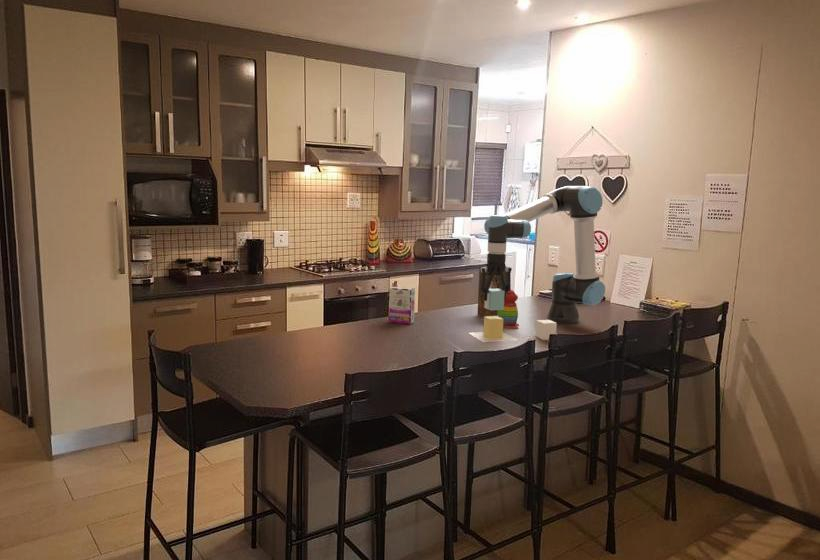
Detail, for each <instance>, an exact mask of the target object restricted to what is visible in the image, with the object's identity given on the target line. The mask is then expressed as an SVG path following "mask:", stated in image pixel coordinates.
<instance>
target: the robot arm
mask: <svg viewBox="0 0 820 560" xmlns="http://www.w3.org/2000/svg"><path fill="white" fill-rule="evenodd" d="M603 201H604V200H603V196H602V193H601V191H600V190H599V189H597V188H596V187H594V186H589V185H566V186H563V187H562V186H561V187H560V188H557V189H554V190H552V191H550V192H547V193H545V194H544V195H542V197H541V198H539V199H537V200H534V201H533V202H530V203H528V204H526V205H523V206H521V207H518V208H516V209H514V210H512V211H509V212H507V213H505V214H502V215H501V214H492V215H490V216H489V218H487V219H486V220H485V221H484V227H483V228H484V231H485V233H486V234H487V252H488V253H486V255H487V257H486V258H487V259H486V262H487V263H486V264H485V265H486V267H483V268H482V267H481V268H480V272H481V275H480V284H479V283H478V288H479V291H481V292H483V300H484V301H485V307H484V308H486V309H489V294H490V293H488V290H489V287H490V284H491V281H492V278H493V277H494V276H495V275H497V276H498V278H499V282H500V286H501V290H504V291H505V294H504V300H506V293H507V292H508V291H510V290H512V289H511V288H512V287H511V285H512V283H511V281H512V280H511V279H512V278H511V277H512V275H511V273H512V271H513V270H512V269H513V268H512V267H509V266H506V258H507V256H506V252H507V239H525V238H528V237H529V236H530V234H531V232H532V225H531V223H530V222H532V221H534V220H537V219H539V218H542V217H544V216H545V215H548V214H550V215H554V214H556V213H558V212H559V213H561V212H569V217H570V218H569V219H571V220H573V226H574V227H573V228H574V229H573V230H574V249H575V250H574V251H575V252H574V253H575V255H574V256H575V272H562V273H561V272H560V273H555V274H554V275H553V276H552V281H551V283H552V284H551V285H552V286H551V287H552V288H551V303H550V307H549V309H548V312H547V314H546V320H551V321H553V322H556V323H557V324H577V323H579V322H580V315H579V311H578V308H577V303H579V304H582V305H585V306H586V305H587V306H596V305H598V304H600V303H601V301H602V300H603V299H604V297H605V294H606V285H605V284H604V282H602V280H600V274H599V273H598V272H597V270H596V245H595V243H596V241H595V219H596V217H598V213H599V212H600V211H601V209H602V206H603V203H604V202H603ZM486 270H488V275H487V276H488V277H487V280H486V283H485V277H486ZM504 270H505V271H506V272H505V282H504V278H503V277H504V276H503V271H504Z"/></svg>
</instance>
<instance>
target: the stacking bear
mask: <svg viewBox="0 0 820 560" xmlns="http://www.w3.org/2000/svg"><path fill="white" fill-rule="evenodd" d="M518 299H519V296H518V294H516V292H515V291H514V290H513V289H511V290H510V291H508V292H507V293H506V300H504V310H498V311H497V316H498V317H500V318H502V319H503V329H507V330H519V327H520V325H519V323H517V322H518V318H519V310H518V306H517V303H516V302H517V300H518Z"/></svg>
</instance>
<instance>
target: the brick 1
mask: <svg viewBox="0 0 820 560" xmlns="http://www.w3.org/2000/svg"><path fill="white" fill-rule="evenodd" d="M488 293H490V294H489V310H504V294H505V291H504V290H501V289H498V288H496V289H489V290H488ZM484 307H485V304H484Z"/></svg>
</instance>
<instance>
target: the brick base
mask: <svg viewBox="0 0 820 560" xmlns="http://www.w3.org/2000/svg"><path fill="white" fill-rule="evenodd" d="M483 332H484V333H483V335H484V336H486V337H488V338H489V339H490V338H503V332H504V328H503V319H502V318H500V317H498V316H486V317H483Z"/></svg>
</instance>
